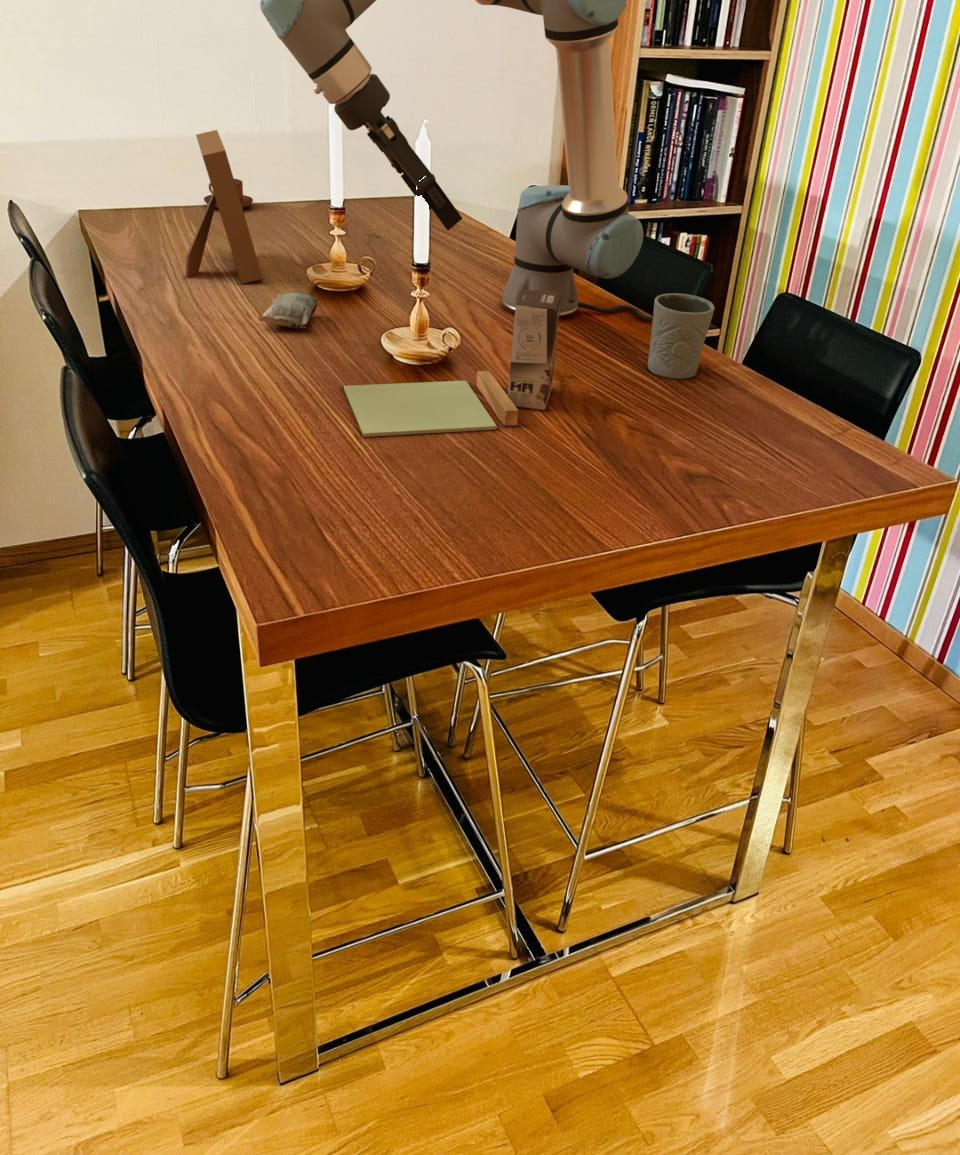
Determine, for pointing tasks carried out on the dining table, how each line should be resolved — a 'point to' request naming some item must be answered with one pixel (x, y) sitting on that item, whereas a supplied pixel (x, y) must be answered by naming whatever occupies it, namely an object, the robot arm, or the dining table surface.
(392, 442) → the dining table surface
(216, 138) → the photo frame
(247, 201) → the cup and saucer
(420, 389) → the mat
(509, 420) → the rail
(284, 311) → the grey bean bag
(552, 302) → the coffee box
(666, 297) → the grey embossed cup
